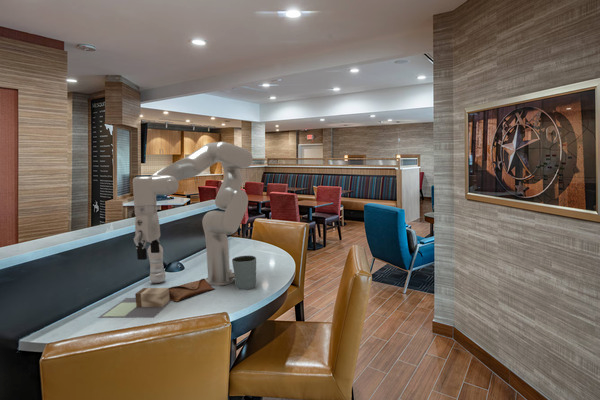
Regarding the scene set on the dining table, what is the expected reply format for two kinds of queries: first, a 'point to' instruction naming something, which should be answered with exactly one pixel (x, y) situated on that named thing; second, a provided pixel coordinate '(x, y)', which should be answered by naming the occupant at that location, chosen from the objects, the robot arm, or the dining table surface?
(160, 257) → the plastic bottle
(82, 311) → the dining table surface
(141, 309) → the mat
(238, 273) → the grey cup
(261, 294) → the dining table surface
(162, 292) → the card box
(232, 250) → the dining table surface
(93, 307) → the dining table surface
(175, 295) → the sunglasses case
